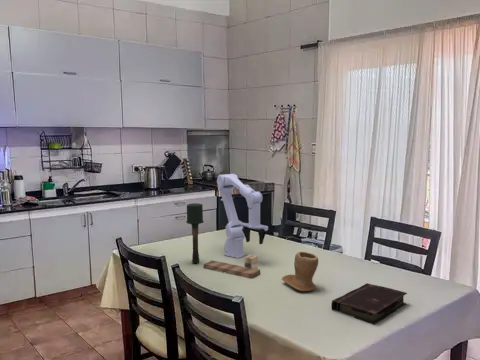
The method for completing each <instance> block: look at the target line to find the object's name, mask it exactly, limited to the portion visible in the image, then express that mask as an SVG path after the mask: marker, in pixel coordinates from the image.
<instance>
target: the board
mask: <svg viewBox="0 0 480 360" xmlns="http://www.w3.org/2000/svg"><path fill="white" fill-rule="evenodd" d="M202 265H203V266H202V267H205V268H204V269H206V268H210V269H214V270H213V271H215V270H218V271H217V272H219V271H222V272H221V273H224V272H226V273H225V274H229V273H231V274H230V275H233V274H234V275H235V276H238V275H239V277H242V276H243V277H242V278H247V277H248V278H249V279H252V278H253V279H254V278H256V277H258V276H260V275H261V269H258V268H257V269H252V268H248V267H245V266H241V265H237V264H232V263H227V262H222V261H219V260H209V261H208V262H207V261H206V262H205V263H203V264H202ZM210 269H209V270H210ZM248 278H247V279H248Z"/></svg>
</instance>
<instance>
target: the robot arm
mask: <svg viewBox="0 0 480 360" xmlns="http://www.w3.org/2000/svg"><path fill="white" fill-rule="evenodd" d="M216 183H217V187H218V191H219V192H220V195H221V199H222V203H223V205H224V210H225V213H226V216H227V217H226V218H227V221H228V222H227V224H226V225H225V228H224V229H225V234H226V237H227V238H226V239H225V242H224V254H223V256H225V255H226V256H225V257H230V258H231V257H232V258H236V259H239V258H241V257H245V256H246V255H247V253H246V252H244V239H245V241H246V243H249V242H250V241H251V229H253V230H255V229H256V230H258V231H257V235H258V241H259V243H258V244H259V245H262V244H264V239H265V236H266V234H267V233H268V230H269V226H268V225H264V224H261V204H262V202H263V199H264V198H263V194H262V193H261V191H256V190H254V189H253V188H252V187H251V186H250V185H249V184H243V182H242V181H241V180H240V179H239V177H238V175H236V173H227V174H219V175H218V176H217V179H216ZM234 189H237V190H239V194H240V195H241V196H243V197H244V198H245V200H246V203H247V207H248V222H243V221H241V220H240V219H239V218H238V214H237V211H236V208H235V207H236V206H235V203H234V200H233V197H232V191H233V190H234Z"/></svg>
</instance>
